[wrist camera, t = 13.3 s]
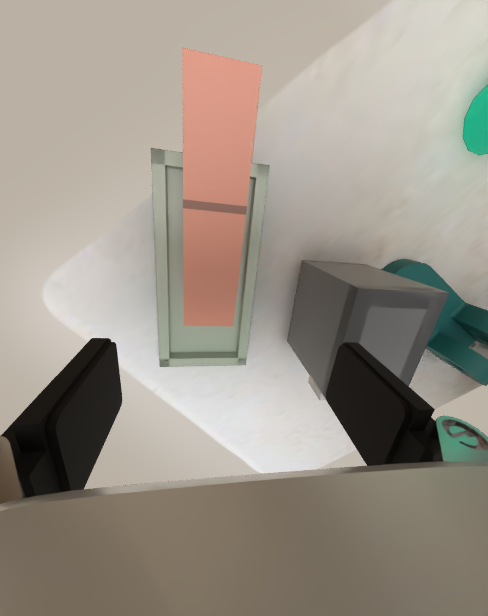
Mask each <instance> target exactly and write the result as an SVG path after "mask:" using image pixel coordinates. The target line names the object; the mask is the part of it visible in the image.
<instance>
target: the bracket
mask: <svg viewBox="0 0 488 616" xmlns="http://www.w3.org/2000/svg"><path fill="white" fill-rule="evenodd" d="M382 270H383V271H386V272H389V273H392V274H395V275H398V276H401V277H404V278H407V279H410V280H413V281H416V282H419V283H422V284H425V285H428V286H431V287H434V288H437V289H440V290H443V291H446V292H449V295H448V297H447V300H446V302H445V304H444V306H443V309H442V311H441V313H440V316H439V318H438V320H437V322H436V325H435V327H434V329H433V332H432V334H431V336H430V338H429V341H428V343H427V345H426V348H427V349H428V350H429V351H430V352H432V353H433V354H434V355H435V356H437V357H438V358H440V359H441V360H443V361H445V362H446V363H448V364H449V365H451V366H453V367H454V368H456V369H457V370H459V371H461V372H462V373H464V374H465V375H467V376H469V377H470V378H472V379H474V380H475V381H477V382H479V383H481V384H483V385H485V386H486V385H487V384H488V359H487V358H485V357H484V356H482V355H481V354H479V353H477V352H476V351H474V350H473V349H471V348H469V347H470V346H471V345H472V344H473V343H474V342H475V341H478V342H480V343H482V344H484V345H486V346H488V311H487V310H484V309H481V308H478V307H476V306H473V305H470V304H467V303H465V302H464V301H463V300H462V299H461V298H460V297H459V296H458V295H457V294H456V293H455V292H454V291H453V290H452V288H451V287H450V286H449V285H448V284H447V283H446V282H445V281H444V280H443V279H442V278H441V277H440V276H439V275H438V274H437V273H436V272H435V271H434V270H433V269H432V268H431V267H430V266H429V265H427V264H424V263H420V262H416V261H411V260H406V259H402V260H397V261H394V262H392V263H390V264H388V265H387V266H386V267H384V268H383V269H382Z"/></svg>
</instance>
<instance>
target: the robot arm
mask: <svg viewBox="0 0 488 616" xmlns="http://www.w3.org/2000/svg"><path fill="white" fill-rule="evenodd" d="M469 348H471V349H473V350H474V351H476V352H477V353H479V354H481V355H482V356H484V357H485V358H487V359H488V346H486V345H484V344H482V343H480V342H478V341H475V342H474V343H473V344H472V345H471V346H470V347H469ZM326 400H327V402H328V404H329V405H330V407H331V408H332V410H333V412H334V413H335V415H336V416H337V418H338V420H339V421H340V423H341V424H342V426H343V428H344V429H345V431H346V432H347V434H348V436H349V437H350V439H351V440H352V442H353V444H354V445H355V447H356V448H357V450H358V452H359V453H360V455H361V456H362V458H363V460H364V461H365V463H366V464H367V466H358V467H344V468H330V469H317V470H304V471H291V472H278V473H265V474H255V475H254V474H253V475H241V476H229V477H228V476H227V477H215V478H204V479H192V480H180V481H168V482H156V483H144V484H133V485H123V486H113V487H103V488H93V489H84V487H85V485H86V483H87V480H88V478H89V476H90V474H91V472H92V469H93V467H94V465H95V463H96V460H97V458H98V456H99V454H100V452H101V449H102V447H103V445H104V443H105V441H106V438H107V436H108V434H109V432H110V430H111V427H112V425H113V423H114V421H115V418H116V416H117V414H118V412H119V409H120V407H121V404H122V392H121V383H120V374H119V365H118V357H117V348H116V343H115V342H111V340H110V339H109V338H92V339H91V340H90V341H89V342H88V343H87V344H86V345H85V346H84V347H83V348H82V349H81V351H80V352H79V353H78V354H77V355H76V356H75V357H74V358H73V359H72V360H71V361H70V362H69V363H68V364H67V366H66V367H65V368H64V369H63V370H62V371H61V372H60V373H59V374H58V375H57V376H56V377H55V378H54V379H53V380H52V381H51V382H50V383H49V385H48V386H47V387H46V388H45V389H44V390H43V391H42V392H41V393H40V394H39V395H38V396H37V398H36V399H35V400H34V401H33V402H32V403H31V404H30V405H29V406H28V407H27V408H26V409H25V410H24V411H23V413H22V414H21V415H20V416H19V417H18V418H17V419H16V420H15V421H14V422H13V423H12V424H11V425H10V427H9V428H8V429H7V430H6V431H5V432H4V433H3V434H2V435H1V436H0V616H488V437H487V436H486V435H485V434H484V433H482V432H481V431H480V430H478V429H477V428H475V427H474V426H472V425H470V424H468V423H467V422H464V421H462V420H460V419H457V418H454V417H449V416H440V417H439V418H437V419H436V421H434V420H433V419H432V418H431V416H432V414H433V412H434V410H435V409H434V408H432V407H431V406H430V405H429V404H428V403H427V402H426V401H424V400H423V399H422V398H421V397H420V396H419V395H418V394H416V393H415V392H414V391H413V390H412V389H411V388H410V387H408V386H407V385H406V384H405V383H404V382H403V381H401V380H400V379H399V378H398V377H397V376H396V375H395V374H393V373H392V372H391V371H390V370H389V369H388V368H387V367H385V366H384V365H383V364H382V363H381V362H380V361H379V360H377V359H376V358H375V357H374V356H373V355H372V354H371V353H369V352H368V351H367V350H366V349H365V348H364V347H363V346H361V345H360V344H359V343H357V342H344V343H343V344H342V345H340V346H339V348H338V351H337V354H336V358H335V362H334V365H333V369H332V373H331V376H330V380H329V383H328V387H327V391H326ZM83 489H84V490H83Z"/></svg>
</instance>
